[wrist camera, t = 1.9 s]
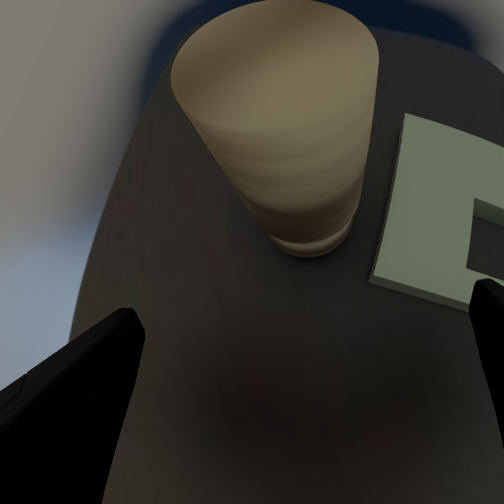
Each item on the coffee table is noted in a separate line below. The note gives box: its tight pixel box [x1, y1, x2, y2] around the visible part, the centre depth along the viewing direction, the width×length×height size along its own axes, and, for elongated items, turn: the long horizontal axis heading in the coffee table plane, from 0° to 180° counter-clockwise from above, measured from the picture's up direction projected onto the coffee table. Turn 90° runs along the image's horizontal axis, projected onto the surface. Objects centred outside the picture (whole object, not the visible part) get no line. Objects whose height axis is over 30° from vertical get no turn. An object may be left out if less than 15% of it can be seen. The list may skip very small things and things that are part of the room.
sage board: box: [368, 113, 504, 312], centre depth 17 cm, size 12×16×2 cm
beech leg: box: [171, 0, 379, 258], centre depth 15 cm, size 6×6×15 cm
